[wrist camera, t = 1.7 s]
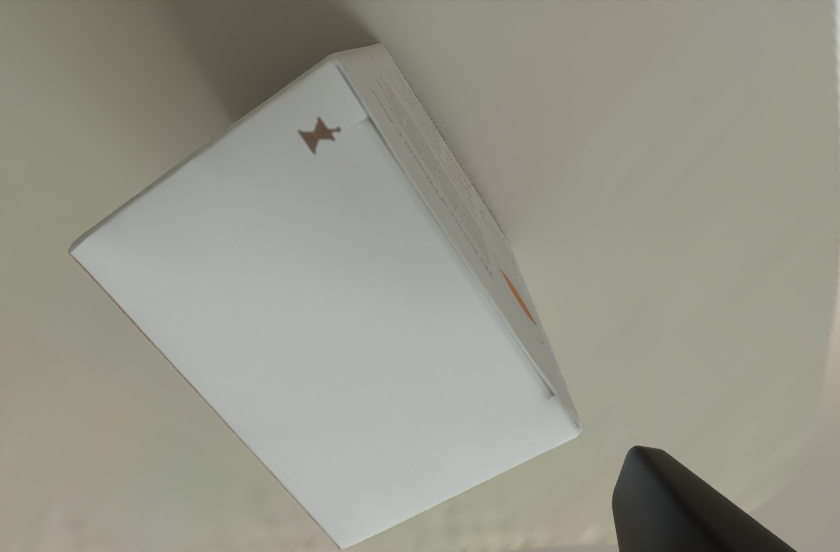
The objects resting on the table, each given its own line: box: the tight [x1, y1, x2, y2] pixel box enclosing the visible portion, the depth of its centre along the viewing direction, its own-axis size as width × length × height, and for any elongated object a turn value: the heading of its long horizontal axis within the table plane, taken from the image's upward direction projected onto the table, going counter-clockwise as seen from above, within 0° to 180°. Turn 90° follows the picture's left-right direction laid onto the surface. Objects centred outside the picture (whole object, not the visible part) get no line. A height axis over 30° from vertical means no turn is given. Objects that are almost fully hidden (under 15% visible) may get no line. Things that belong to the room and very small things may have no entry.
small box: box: [69, 43, 582, 549], centre depth 15 cm, size 8×6×10 cm
